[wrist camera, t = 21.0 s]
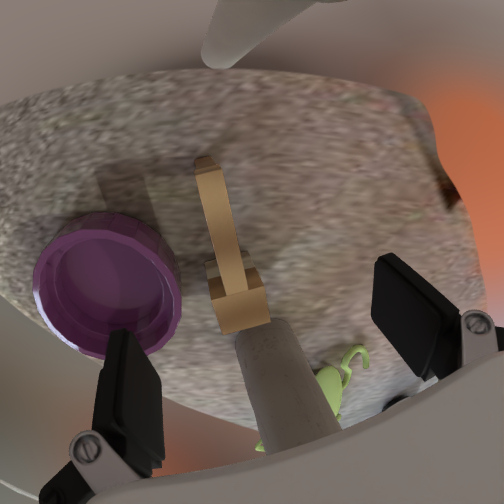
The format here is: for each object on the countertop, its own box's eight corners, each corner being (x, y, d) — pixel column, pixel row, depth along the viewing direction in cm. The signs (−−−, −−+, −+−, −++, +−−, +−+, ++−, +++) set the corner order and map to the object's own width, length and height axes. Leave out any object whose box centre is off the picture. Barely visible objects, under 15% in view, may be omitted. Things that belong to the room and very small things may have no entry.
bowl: (28, 235, 25) (8, 256, 21) (155, 191, 27) (150, 207, 23) (85, 341, 33) (78, 369, 29) (196, 315, 35) (200, 344, 30)
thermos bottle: (262, 367, 42) (329, 545, 17) (222, 346, 38) (281, 558, 14) (303, 334, 40) (398, 514, 16) (266, 308, 36) (367, 529, 12)
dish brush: (177, 164, 27) (175, 180, 20) (227, 151, 27) (241, 164, 21) (213, 294, 34) (222, 335, 28) (254, 283, 34) (270, 322, 28)
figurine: (246, 439, 52) (253, 461, 47) (266, 352, 40) (277, 382, 35) (328, 424, 56) (337, 443, 52) (373, 337, 45) (390, 360, 40)
